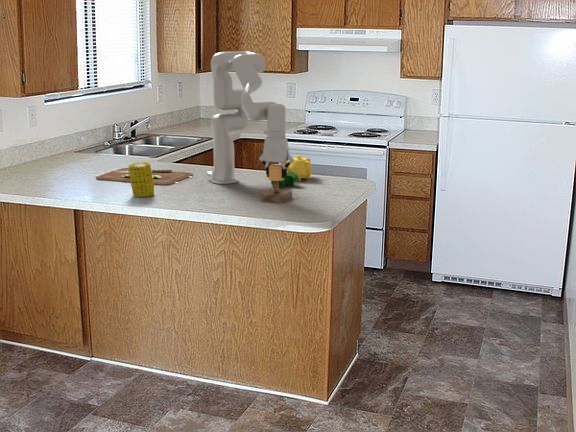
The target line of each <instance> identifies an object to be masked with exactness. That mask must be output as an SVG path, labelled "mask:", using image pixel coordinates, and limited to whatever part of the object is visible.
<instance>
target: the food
mask: <svg viewBox="0 0 576 432" xmlns="http://www.w3.org/2000/svg"><path fill="white" fill-rule="evenodd" d="M128 168H129V173H130V181H131V183H130V186H131V189H132V190H131V192H132V195H133V196H134V197H137V198H143V197H144V198H146V197H153V196H155V185H154V183H153V178H152V171H151V170H152V167H151V164H150V163H149V162H147V161H141V162H133V163H131V164H129V165H128Z"/></svg>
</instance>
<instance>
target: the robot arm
mask: <svg viewBox="0 0 576 432" xmlns="http://www.w3.org/2000/svg"><path fill="white" fill-rule="evenodd" d="M265 68H266V60H265V59H264V57H263V56H262V55H261V53H257V52H251V51H220V52H217V53H215V54H213V55H212V58H211V60H210V69H211V74H212V78H213V79H212V80H213V106H214V108H215V109H216V110H218V111H234V112H226V113H225V112H223V113H218V114H215V115H213V116H212V117H211V120H210V128H211V134H212V142H213V144H212V145H213V146H212V147H213V149H212V150H213V171H207V172H206V176H207V177H211V178H210V182H211V183H214V184H216V185H217V184H218V185H227V184H228V185H230V184H235V183H238V181H239V178H238V177H236V175H235V170H236V169H235V143H234V140H233V139H232V137H231V136H230V135H232V134H240V133H244V132H245V131H246V130H247V129H248V126H249V120H250V121H251V122H261V121H266V130H264V131H263V132H264V135H266V137H265V138H264V143H263V152H262V154H261V155H260V156H259V157H258V159H259V161H260V162H261V164H262V165H264V167H265V174H266V177H267V178H269V165H271V164H272V163H277V164H282V167H283V169H282V178H285V177H286V176H287V168H288V167H289V166H290V165H291V163H293V162H294V159H293V158H294V157H292V156H291V155H290V149H289V142H288V138H287V137H286V106H285V105H284V104H283V103H276V102H274V101H265V102H263V101H261V102H254V101H253V98H252V97H251V94H252V93H254V92H256V91H257V90H259V88H261V87H262V84H263V80H262V78H261V76H260V73H262V72H264V71H265ZM230 72H235V74H236V76H237V78H238V80H239V82H240V85H241V86H242V88H243V89H242V88H233V79H232V78H233V77H232V76H231V74H230ZM286 161H289V162H288V163H287V162H286Z"/></svg>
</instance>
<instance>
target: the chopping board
mask: <svg viewBox="0 0 576 432" xmlns="http://www.w3.org/2000/svg"><path fill="white" fill-rule="evenodd" d="M151 171H152V178H153V183H154V186H163V187H166V186H167V187H168V186H172V185H174V184H177V185H179V184H181V183H184V182H187V181H189V180H191V179H194V178H195V176H194V174H193V172H185V171H182V172H181V171H173V170H172V169H151ZM94 177H95V179H96V180H98V181H108V182H119V183H129V184H131V181H130V173H129V167H122V168H119V169H112V170H108V171H106V172H104V173H100V174H97V175H95V176H94Z"/></svg>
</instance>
